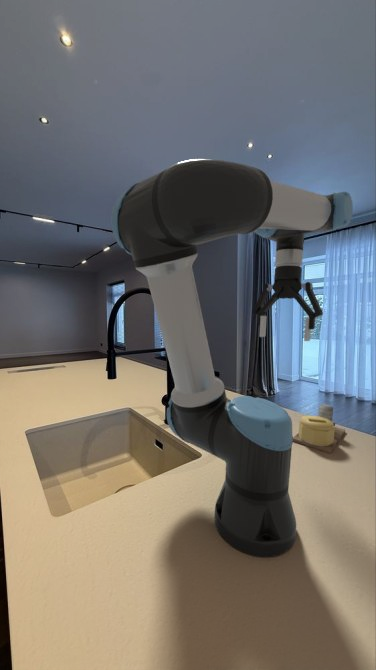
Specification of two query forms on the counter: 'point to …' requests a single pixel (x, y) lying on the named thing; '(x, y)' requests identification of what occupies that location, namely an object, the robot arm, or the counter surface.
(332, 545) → the counter surface
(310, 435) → the cap
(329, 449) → the post board
